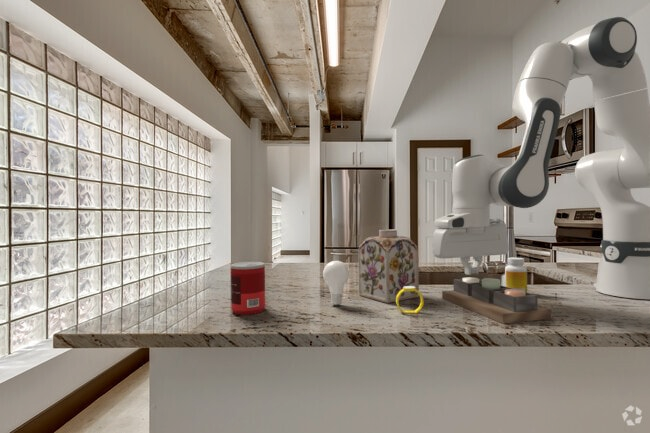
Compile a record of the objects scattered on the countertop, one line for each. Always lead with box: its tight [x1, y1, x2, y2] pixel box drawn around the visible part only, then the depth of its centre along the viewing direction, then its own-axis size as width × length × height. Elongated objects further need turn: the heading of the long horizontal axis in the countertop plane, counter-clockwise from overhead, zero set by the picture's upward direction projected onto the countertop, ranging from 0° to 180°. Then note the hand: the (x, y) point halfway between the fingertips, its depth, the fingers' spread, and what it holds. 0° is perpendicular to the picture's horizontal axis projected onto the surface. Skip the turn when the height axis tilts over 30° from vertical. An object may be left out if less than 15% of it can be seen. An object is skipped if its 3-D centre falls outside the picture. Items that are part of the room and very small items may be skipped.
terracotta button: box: [505, 289, 525, 297], centre depth 81 cm, size 4×4×3 cm
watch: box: [395, 286, 425, 315], centre depth 85 cm, size 6×3×6 cm, turn 89°
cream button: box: [461, 276, 480, 283], centre depth 96 cm, size 4×4×3 cm
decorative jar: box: [357, 228, 420, 304], centre depth 101 cm, size 12×12×18 cm
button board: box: [441, 278, 552, 325], centre depth 88 cm, size 12×22×5 cm, turn 15°
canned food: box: [230, 261, 266, 316], centre depth 89 cm, size 8×8×11 cm
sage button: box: [481, 277, 501, 289], centre depth 88 cm, size 4×4×3 cm
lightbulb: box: [322, 260, 350, 307], centre depth 92 cm, size 6×6×11 cm
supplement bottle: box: [504, 256, 528, 293], centre depth 102 cm, size 5×5×10 cm
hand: (471, 274), depth 96 cm, fingers closed
